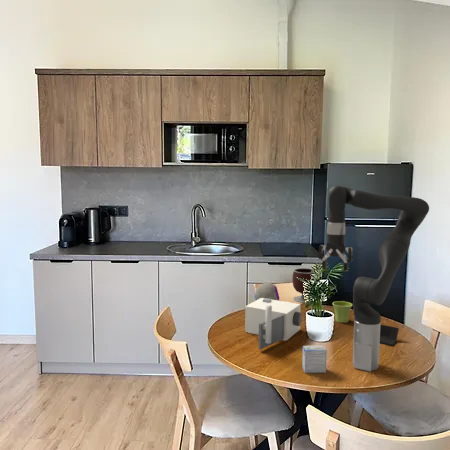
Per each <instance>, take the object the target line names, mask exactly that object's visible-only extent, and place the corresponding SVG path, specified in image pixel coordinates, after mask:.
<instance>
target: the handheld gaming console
mask: <svg viewBox="0 0 450 450" xmlns="http://www.w3.org/2000/svg"><path fill="white" fill-rule="evenodd" d="M399 330H400V329H399V327H394V326H392V325H391V326H390V325H384V324H380V345H385V346H390V347H394V345H395V344H396V343H397V339H398V335H399Z"/></svg>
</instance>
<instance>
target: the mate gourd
mask: <svg viewBox="0 0 450 450" xmlns="http://www.w3.org/2000/svg"><path fill="white" fill-rule="evenodd" d="M313 269H314V268H306V267H304V268H303V267H300V268H295V269H293V272H292V286H293V289H294V290H295V291H296V292H297V293H300V294H301V295H297V296H294V297H293V301H294V302H296V303H299V304H300V303H301V304H306V303H305V299H304V295H303V291H304V287H303V283H304V282H302V281H300V280H298V279H296V278H295V277H298V278H302V279H303V278H304V279H307V280H310V279H311V276H310V274H314V272H313ZM304 284H305V283H304Z"/></svg>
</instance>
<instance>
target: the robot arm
mask: <svg viewBox="0 0 450 450" xmlns="http://www.w3.org/2000/svg"><path fill="white" fill-rule="evenodd" d="M346 205H351V206H352V207H355V208H357V209H358V208H359V209H363V210H370V211H377V210H386V209H390V210H391V209H394V210H395V209H396V210H399V211H400V212H399V216H398V219H397V222H396V224H395V226H394V228H393V230H392V231H391V232H390V233H388V235H387V236H386V238H384V241H383V243H382V245H381V246H380V248H379V251H378V258H379V259H378V260H379V263H380V266H381V267H380V268H381V274H380V275H379V277H378V278H377V279H376V278H371V277H365V276H359V277H357V278H356V280H355V281H354V284H353V289H352V300H353V302H352V307H353V308H352V311H353V316H354V321H353V322H354V323H353V344H352V345H353V347H352V365H353V368H354V369H357V370H362V371H366V372H373V371H376V370H378V369H379V367H380V366H379V365H380V363H379V362H380V361H379V360H380V345H381V344H380V324H381V322H382V321H381V318H382V316H381V314H380V313H379V312H378V311H377V310H375V309H374V308H373V307H372V306H370V305H374V306H380V305H383V303H384V302H385V300H386V299H387V296H388V294H389V291H390V288H391V286H392V283H393V281H394V279H395V276H396V273H397V272H398V270H399V268H400V266H401V264H402V262H403V260H404V259H405V257H406V255H407V253H408V251H409V248H410V246H411V240H412V237H413V234H414V233H415V232H416V231H417V229H418V228H419V226H420V225H421V224H422V223H423V222H424V219H425V218H426V217H427V215H428V214H429V212H430V206H429V204H428V202H427V201H426V200H425V199H422V198H419V197H414V196H413V197H412V196H401V195H400V196H399V195H387V194H385V195H384V194H378V193H372V192H369V191H365V190H364V191H363V190H361V189H359V190H358V189H353V188H349V187H345V186H341V185H333V186H332V187H330V188H329V190H328V212H327V227H326V245H324V244H320V245H319V246H318V259H319V260H321V261H322V268H323V270H327V269H328V260H327V259H328V258H329V257H337V258H341V260H342V261H343V272H347V271H348V269H349V263H351V262H353V261H354V252H353V249H354V248H353V247H352V246H350V247H346ZM325 250H326V251H327V252H326V253H325V255H324V251H325ZM345 252H346V253H347V254H348V257H347V255H346V254H345ZM381 325H382V324H381Z"/></svg>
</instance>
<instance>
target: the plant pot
mask: <svg viewBox="0 0 450 450" xmlns="http://www.w3.org/2000/svg"><path fill="white" fill-rule="evenodd" d="M332 306H333V309H334V317H335V322H337V323H344V324H346V323H349V322H350V321H349V320H350V314H351V309H352V307H353V303H351V302H349V301H345V300H342V301H341V300H340V301H333V302H332Z"/></svg>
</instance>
